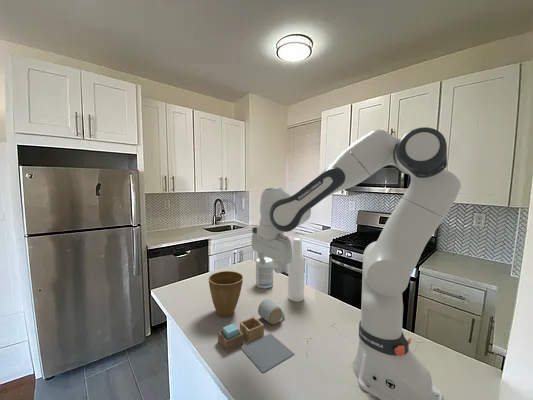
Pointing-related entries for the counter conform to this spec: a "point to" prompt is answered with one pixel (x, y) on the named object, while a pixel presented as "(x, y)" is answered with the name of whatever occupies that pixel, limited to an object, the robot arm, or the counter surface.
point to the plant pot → (225, 291)
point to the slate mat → (267, 352)
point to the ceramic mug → (270, 311)
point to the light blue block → (230, 331)
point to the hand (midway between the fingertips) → (269, 268)
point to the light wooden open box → (252, 328)
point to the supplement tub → (264, 273)
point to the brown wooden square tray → (230, 341)
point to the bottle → (296, 273)
